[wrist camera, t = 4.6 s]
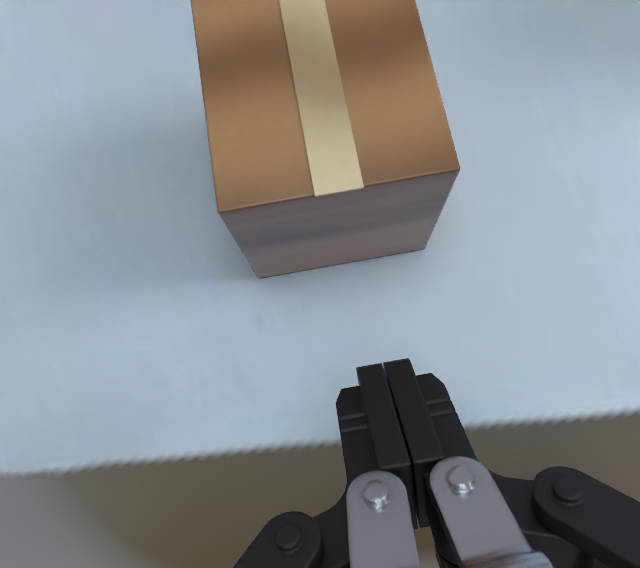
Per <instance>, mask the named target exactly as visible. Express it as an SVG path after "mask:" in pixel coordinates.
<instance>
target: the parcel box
mask: <svg viewBox="0 0 640 568" xmlns="http://www.w3.org/2000/svg"><path fill="white" fill-rule="evenodd" d="M191 6H192V14H193V22H194V30H195V38H196V46H197V53H198V61H199V69H200V77H201V85H202V93H203V101H204V108H205V116H206V124H207V132H208V140H209V148H210V156H211V163H212V171H213V179H214V187H215V195H216V203H217V211H218V213H219V215H220V216H221V218H222V220H223V221H224V223H225V224H226V226H227V228H228V229H229V231H230V233H231V234H232V236H233V237H234V239H235V241H236V242H237V244H238V246H239V247H240V249H241V250H242V252H243V254H244V255H245V257H246V259H247V260H248V262H249V263H250V265H251V267H252V268H253V270H254V272H255V273H256V275H257V276H258V278H264V277H270V276H275V275H281V274H286V273H292V272H298V271H303V270H309V269H314V268H320V267H326V266H331V265H337V264H343V263H348V262H354V261H359V260H365V259H371V258H376V257H382V256H387V255H393V254H399V253H404V252H410V251H415V250H421V249H424V248H425V247H426V244H427V242H428V240H429V238H430V236H431V233H432V231H433V229H434V227H435V224H436V222H437V220H438V218H439V215H440V213H441V211H442V209H443V206H444V204H445V202H446V200H447V198H448V195H449V193H450V191H451V189H452V186H453V184H454V182H455V180H456V177H457V175H458V173H459V171H460V166H459V162H458V158H457V155H456V151H455V147H454V144H453V140H452V136H451V132H450V129H449V125H448V121H447V117H446V114H445V110H444V106H443V103H442V99H441V95H440V91H439V88H438V84H437V80H436V76H435V73H434V69H433V65H432V62H431V58H430V54H429V50H428V47H427V43H426V39H425V35H424V32H423V28H422V24H421V21H420V17H419V13H418V9H417V6H416V2H415V0H191Z"/></svg>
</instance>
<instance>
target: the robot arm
mask: <svg viewBox="0 0 640 568" xmlns="http://www.w3.org/2000/svg"><path fill="white" fill-rule="evenodd" d="M356 370H357V377H358V383H359V386H356V387H350V388H344V389H341V391H340V394H339V396H338V399H337V401H336V408H337V415H338V421H339V428H340V435H341V441H342V448H343V455H344V461H345V467H346V475H347V486H346V489H345V492H344V494H343V496H342V497H341V499H340V500H339V501H338V502H337V504H336V505H334V506H333V507H332V508H330V509H329V510H327V511H325V512H323V513H321V514H319V515H317V516H315V517H313V518H312V517H311V516H309V515H307V514H305V513H302V512H294V511H293V512H286V513H282V514H280V515H278V516H276V517H274V518H273V519H271V520H270V521H269V522H268V523H267V524H266V525H265V526H264V528H263V529H262V530H261V532H260V533H259V534H258V536H257V537H256V538H255V540H254V541H253V542H252V543H251V545H250V546H249V547H248V549H247V550H246V551H245V553H244V554H243V555H242V557H241V558H240V559H239V561H238V562H237V563H236V565H235V566H234V567H233V568H420V564H419V558H418V553H417V546H416V541H415V532H414V529H417V528H418V527H417V518H416V514H417V517H418V521H419V524H420V528H422V527H428V526H430V527H431V531H432V534H433V538H434V541H435V550H436V557H437V561H438V563H439V566H440V568H640V502H638V501H636V500H634V499H633V498H631V497H629V496H627V495H625V494H623V493H621V492H619V491H617V490H615V489H613V488H611V487H609V486H607V485H605V484H603V483H602V482H600V481H598V480H596V479H594V478H592V477H590V476H588V475H586V474H584V473H583V472H580V471H578V470H575V469H572V468H568V467H560V466H559V467H550V468H547V469H545V470H543V471H541V472H539V474H537V475H536V477H535V479H534V481H533V480H524V479H515V478H508V477H503V476H500V475H497V474H495V473H493V472H491V471H490V470H488V469H487V468H485V467H484V466H483V465H482V464H481V463H480V462H479V461H478V459H477V458H476V456H475V454H474V452H473V450H472V447H471V445H470V443H469V440H468V438H467V436H466V433H465V431H464V429H463V427H462V424H461V422H460V420H459V417H458V415H457V413H456V412H455V408H454V406H453V404H452V401H451V400H450V397H449V394H448V392H447V390H446V387H445V385H444V384H443V383H442V382H441V381H440V380H439V379H438V378H436V377H435V376H434V375H433V374H432V373H428V374H423V375H417V376H416V375H415V373H414V370H413V367H412V364H411V362H410V360H409V358H406V359H401V360H395V361H389V362H384V363H383V366H382V364H381V363H379V364H373V365H368V366H362V367H356Z"/></svg>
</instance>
